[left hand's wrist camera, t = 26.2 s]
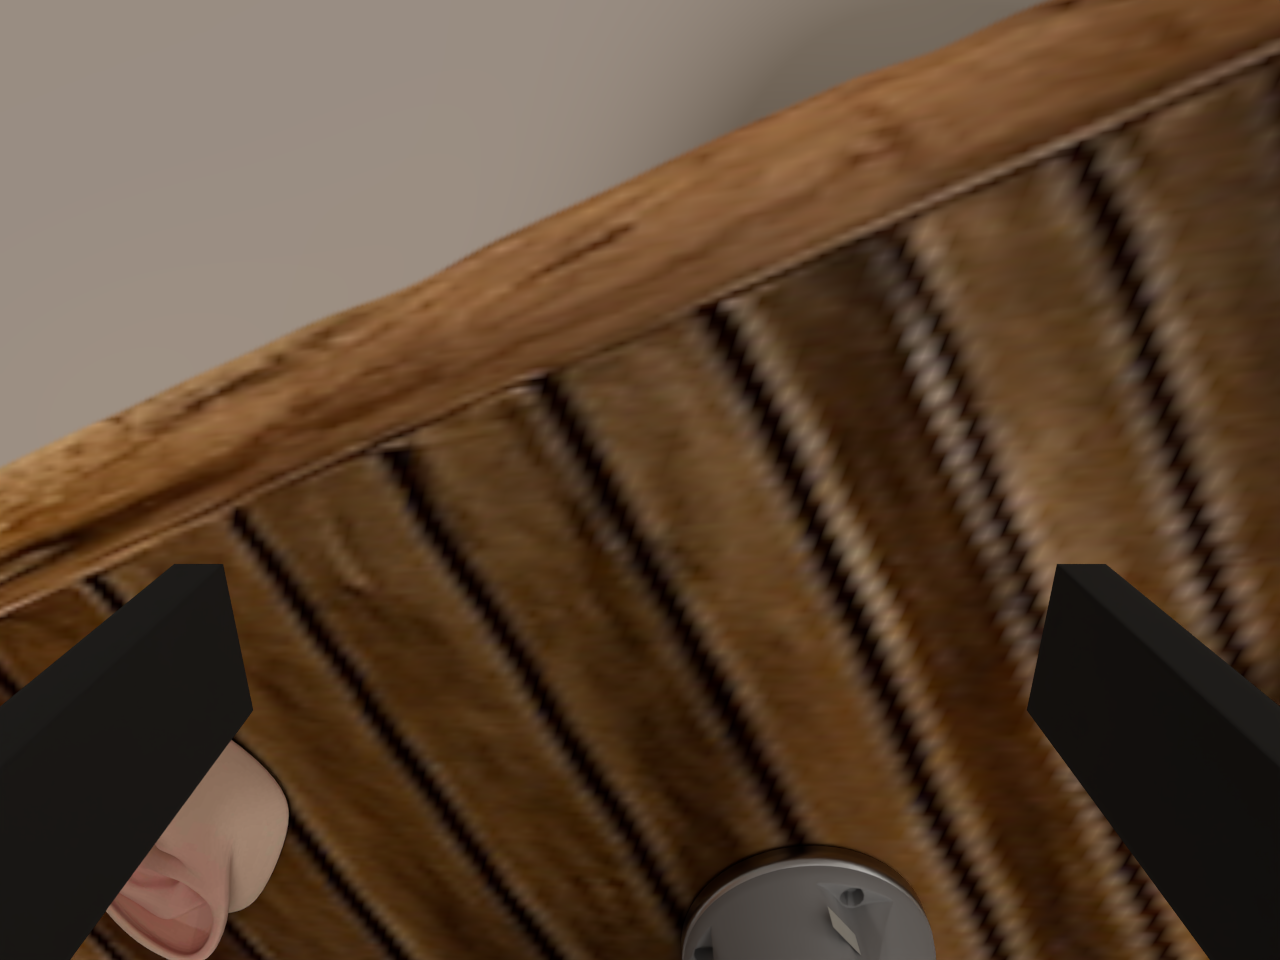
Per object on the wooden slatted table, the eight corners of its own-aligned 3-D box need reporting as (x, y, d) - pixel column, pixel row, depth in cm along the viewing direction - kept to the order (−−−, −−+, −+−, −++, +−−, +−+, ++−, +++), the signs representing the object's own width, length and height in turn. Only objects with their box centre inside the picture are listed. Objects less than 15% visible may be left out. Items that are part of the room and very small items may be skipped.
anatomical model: (95, 738, 39) (306, 839, 42) (142, 689, 43) (333, 785, 45) (7, 903, 43) (204, 987, 45) (57, 846, 47) (237, 926, 49)
